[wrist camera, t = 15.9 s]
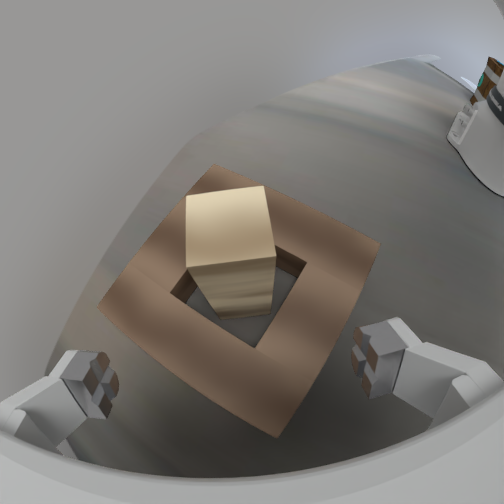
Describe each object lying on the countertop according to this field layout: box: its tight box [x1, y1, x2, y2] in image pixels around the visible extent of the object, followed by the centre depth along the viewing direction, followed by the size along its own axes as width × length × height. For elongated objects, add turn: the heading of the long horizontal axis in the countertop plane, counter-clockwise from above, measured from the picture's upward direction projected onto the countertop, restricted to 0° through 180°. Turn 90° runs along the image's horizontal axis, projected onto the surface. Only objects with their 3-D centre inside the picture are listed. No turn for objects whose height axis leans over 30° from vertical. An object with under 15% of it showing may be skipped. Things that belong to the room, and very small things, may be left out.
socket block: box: [97, 164, 381, 438], centre depth 23 cm, size 18×18×4 cm
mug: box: [470, 57, 504, 106], centre depth 36 cm, size 20×14×15 cm
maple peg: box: [186, 186, 276, 320], centre depth 20 cm, size 4×4×12 cm
